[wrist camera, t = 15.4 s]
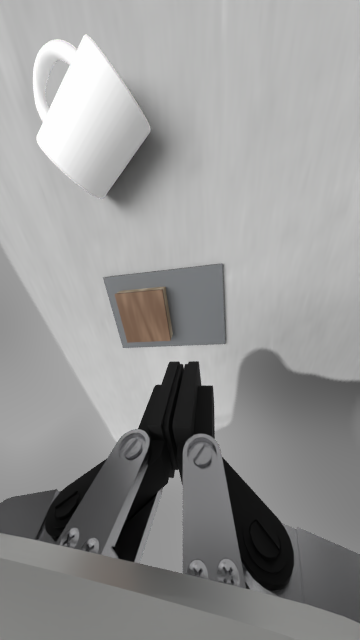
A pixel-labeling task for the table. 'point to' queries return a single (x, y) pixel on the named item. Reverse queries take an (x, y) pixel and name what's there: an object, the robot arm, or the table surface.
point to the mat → (179, 303)
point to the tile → (145, 314)
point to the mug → (87, 116)
